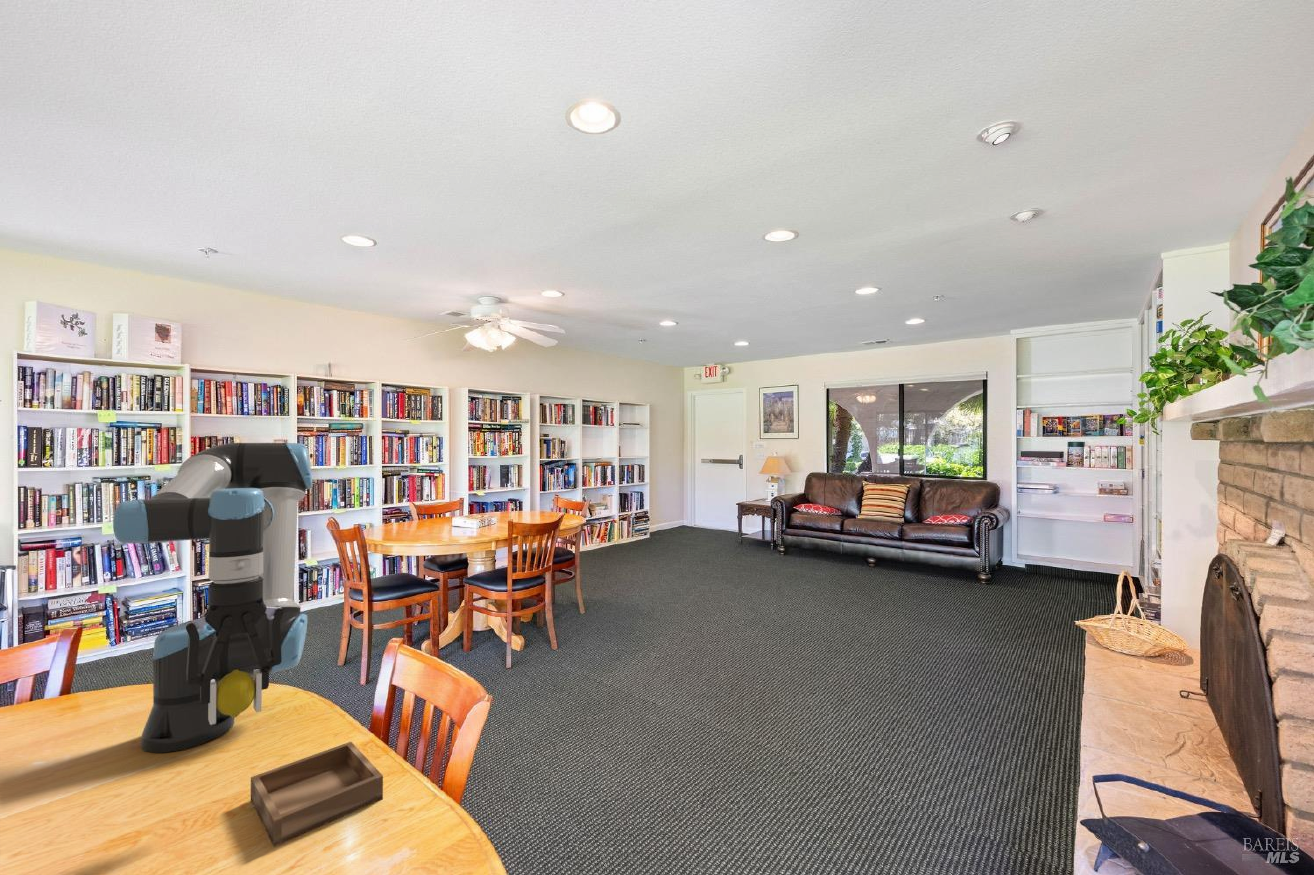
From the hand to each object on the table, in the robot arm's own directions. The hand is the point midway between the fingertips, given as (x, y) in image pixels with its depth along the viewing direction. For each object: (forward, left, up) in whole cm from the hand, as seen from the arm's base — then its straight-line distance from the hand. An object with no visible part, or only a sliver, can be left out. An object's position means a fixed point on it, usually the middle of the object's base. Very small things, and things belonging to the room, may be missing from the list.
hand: (235, 714), depth 96 cm
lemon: (0, 0, -1) cm, 1 cm away
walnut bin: (+8, +10, -15) cm, 20 cm away
